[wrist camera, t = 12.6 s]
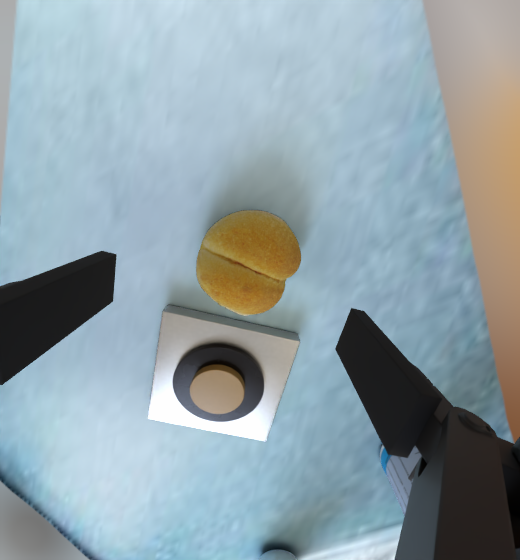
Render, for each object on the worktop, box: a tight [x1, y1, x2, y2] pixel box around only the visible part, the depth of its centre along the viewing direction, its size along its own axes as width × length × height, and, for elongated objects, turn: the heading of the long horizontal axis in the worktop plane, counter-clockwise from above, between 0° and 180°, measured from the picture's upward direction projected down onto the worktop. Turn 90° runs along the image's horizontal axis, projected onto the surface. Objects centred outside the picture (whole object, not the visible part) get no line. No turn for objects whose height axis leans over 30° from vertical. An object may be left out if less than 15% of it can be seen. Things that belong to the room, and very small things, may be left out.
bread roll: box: [196, 210, 301, 316], centre depth 21 cm, size 8×9×4 cm
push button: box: [148, 305, 300, 441], centre depth 26 cm, size 13×13×3 cm
